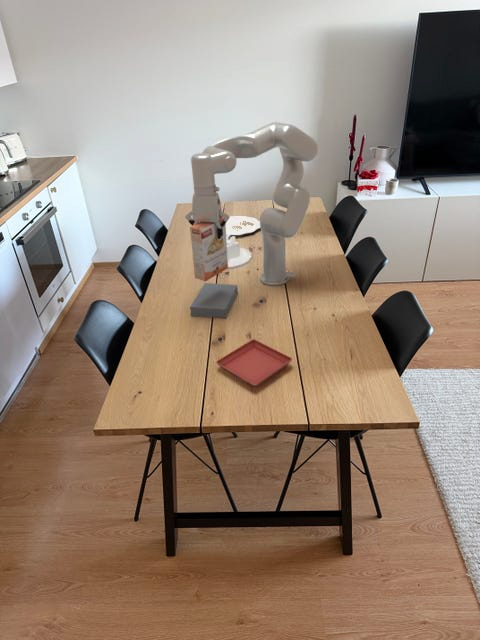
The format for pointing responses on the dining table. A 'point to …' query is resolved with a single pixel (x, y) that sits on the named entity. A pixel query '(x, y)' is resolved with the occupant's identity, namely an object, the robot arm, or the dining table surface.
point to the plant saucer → (254, 362)
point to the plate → (245, 229)
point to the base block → (214, 300)
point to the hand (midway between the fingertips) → (209, 237)
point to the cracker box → (208, 250)
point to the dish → (236, 254)
